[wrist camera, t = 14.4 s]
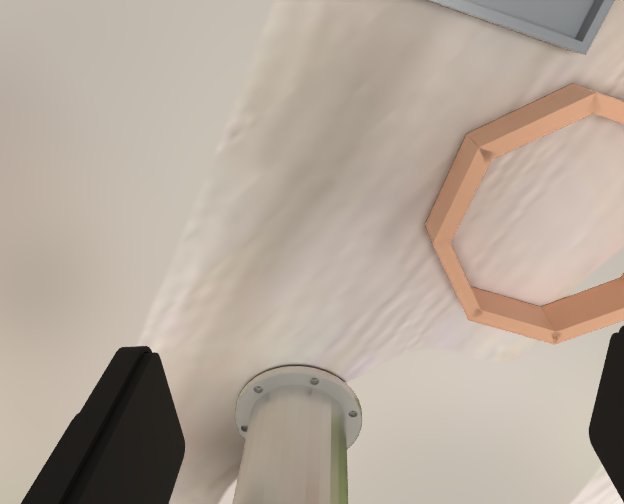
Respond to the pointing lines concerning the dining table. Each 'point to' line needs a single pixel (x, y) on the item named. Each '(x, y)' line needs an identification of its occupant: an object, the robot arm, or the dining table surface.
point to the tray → (541, 18)
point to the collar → (461, 189)
